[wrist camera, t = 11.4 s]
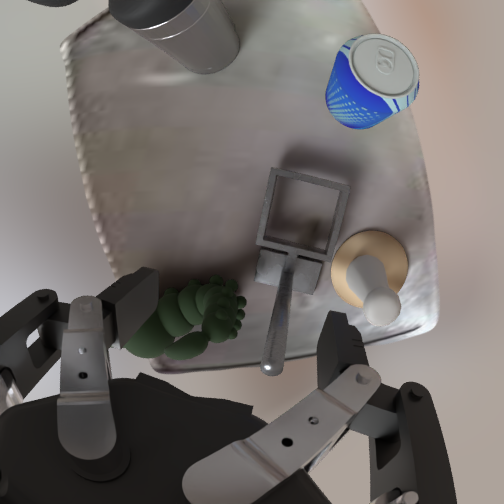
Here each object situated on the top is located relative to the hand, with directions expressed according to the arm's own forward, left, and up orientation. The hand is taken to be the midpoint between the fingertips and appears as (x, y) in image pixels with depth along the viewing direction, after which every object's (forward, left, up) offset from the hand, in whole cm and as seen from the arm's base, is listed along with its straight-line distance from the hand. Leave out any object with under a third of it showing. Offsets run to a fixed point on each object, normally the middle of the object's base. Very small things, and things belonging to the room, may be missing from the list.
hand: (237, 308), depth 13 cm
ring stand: (+2, +3, -28) cm, 28 cm away
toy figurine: (+18, -12, -29) cm, 36 cm away
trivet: (+5, +15, -28) cm, 32 cm away
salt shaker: (+5, +13, -28) cm, 31 cm away
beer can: (-18, +7, -29) cm, 34 cm away
